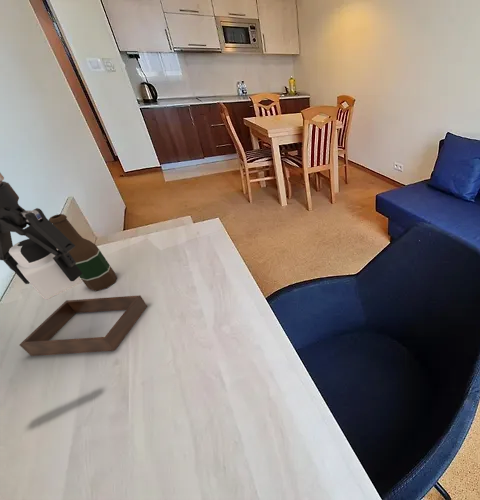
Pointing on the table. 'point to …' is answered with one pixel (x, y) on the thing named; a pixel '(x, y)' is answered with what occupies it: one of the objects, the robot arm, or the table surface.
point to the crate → (43, 345)
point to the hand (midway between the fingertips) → (54, 278)
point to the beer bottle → (86, 257)
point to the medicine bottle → (41, 269)
